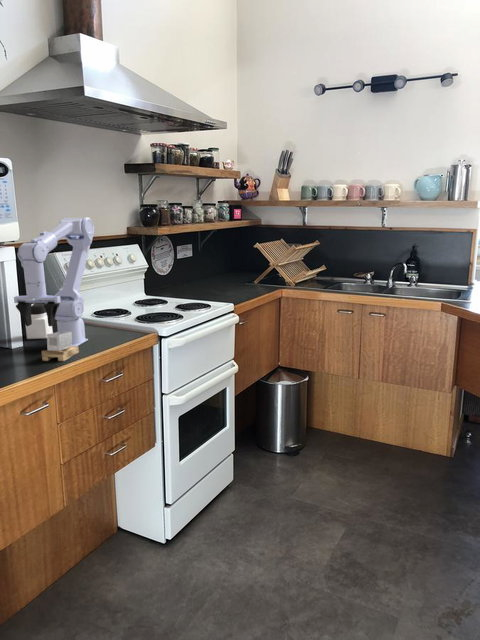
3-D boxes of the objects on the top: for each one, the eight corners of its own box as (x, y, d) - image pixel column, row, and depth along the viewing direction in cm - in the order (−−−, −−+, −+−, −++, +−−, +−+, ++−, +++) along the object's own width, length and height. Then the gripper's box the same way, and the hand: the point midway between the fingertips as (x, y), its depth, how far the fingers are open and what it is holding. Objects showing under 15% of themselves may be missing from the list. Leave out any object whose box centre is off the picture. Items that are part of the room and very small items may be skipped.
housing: (60, 346, 169) (60, 331, 168) (72, 347, 168) (71, 331, 168) (47, 350, 161) (46, 334, 160) (59, 350, 160) (58, 334, 160)
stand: (58, 351, 171) (57, 342, 170) (78, 352, 169) (77, 343, 169) (42, 360, 161) (41, 351, 160) (63, 361, 160) (62, 351, 159)
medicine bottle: (53, 333, 195) (49, 302, 193) (46, 338, 188) (43, 305, 186) (33, 334, 195) (30, 302, 192) (26, 339, 188) (22, 306, 186)
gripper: (6, 284, 158) (11, 328, 161) (50, 284, 156) (55, 328, 159) (19, 280, 165) (24, 322, 168) (62, 280, 163) (66, 323, 166)
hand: (40, 325), depth 164 cm, fingers open, 7 cm apart
